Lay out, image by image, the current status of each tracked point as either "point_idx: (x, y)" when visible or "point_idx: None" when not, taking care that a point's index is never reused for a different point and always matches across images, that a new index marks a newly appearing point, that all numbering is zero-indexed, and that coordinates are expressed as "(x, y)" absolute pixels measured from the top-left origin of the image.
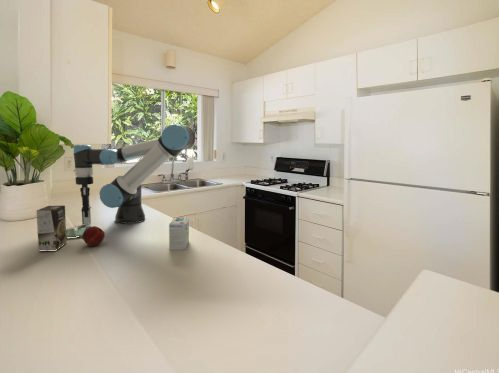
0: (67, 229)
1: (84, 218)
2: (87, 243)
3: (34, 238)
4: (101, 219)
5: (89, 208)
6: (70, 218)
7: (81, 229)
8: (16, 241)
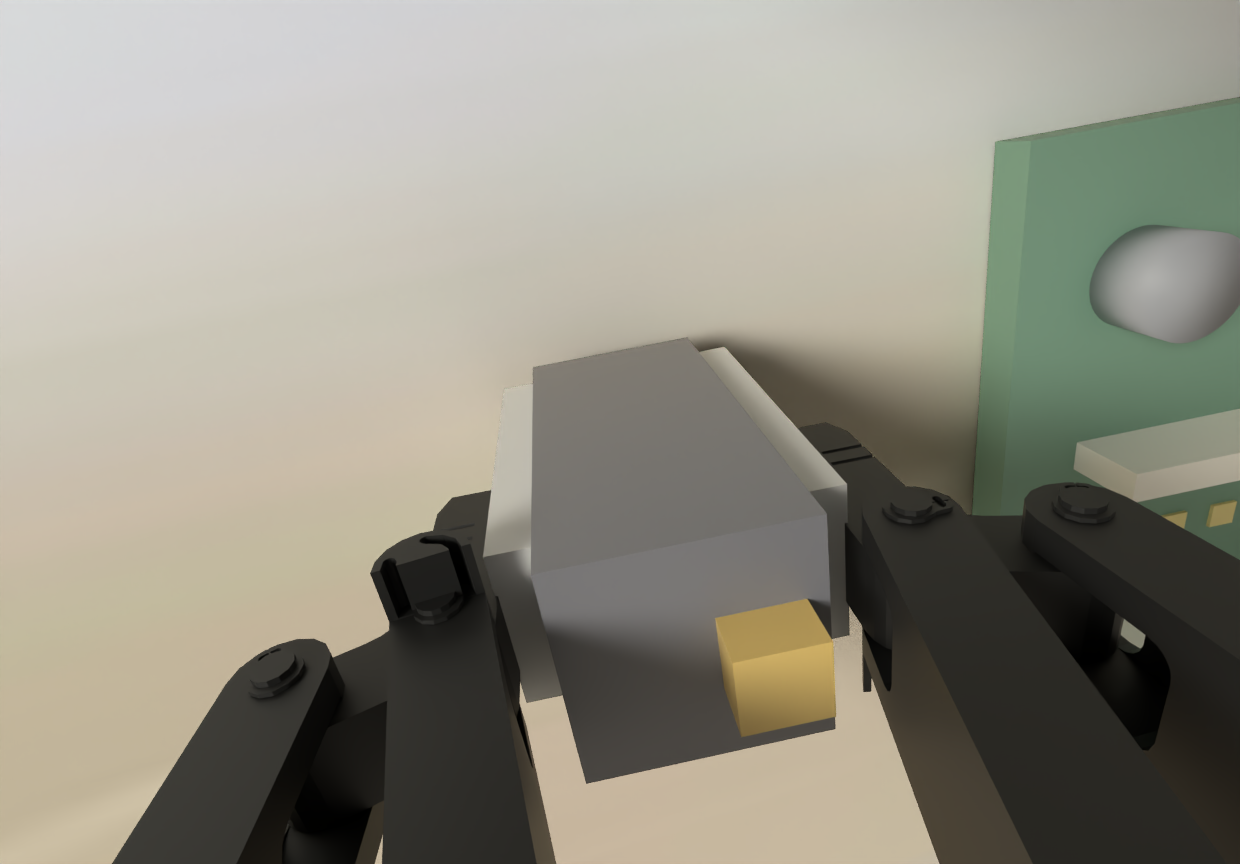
0: None
1: None
2: None
3: None
4: (108, 209)
5: (820, 518)
6: (86, 787)
7: (1105, 387)
8: None
